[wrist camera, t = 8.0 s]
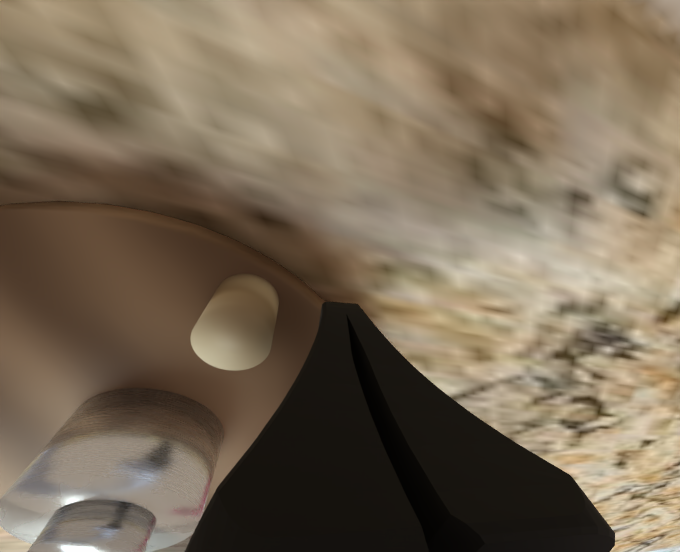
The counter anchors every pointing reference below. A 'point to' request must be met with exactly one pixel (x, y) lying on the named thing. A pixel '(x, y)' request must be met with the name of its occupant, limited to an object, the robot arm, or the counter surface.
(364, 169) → the counter surface
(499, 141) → the counter surface
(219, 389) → the turntable top
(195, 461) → the aluminium cover
